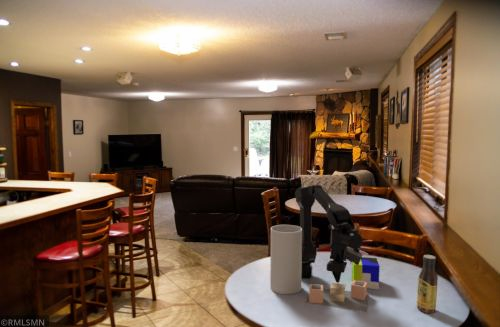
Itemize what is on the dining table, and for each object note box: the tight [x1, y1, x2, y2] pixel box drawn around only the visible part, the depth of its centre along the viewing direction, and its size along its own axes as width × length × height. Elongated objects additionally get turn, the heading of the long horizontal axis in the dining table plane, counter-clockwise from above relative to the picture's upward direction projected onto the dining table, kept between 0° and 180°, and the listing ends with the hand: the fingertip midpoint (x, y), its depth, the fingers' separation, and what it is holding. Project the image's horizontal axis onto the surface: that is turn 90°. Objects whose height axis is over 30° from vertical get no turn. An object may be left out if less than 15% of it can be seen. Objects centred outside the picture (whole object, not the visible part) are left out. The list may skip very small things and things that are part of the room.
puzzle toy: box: [351, 256, 381, 290], centre depth 159 cm, size 10×10×10 cm
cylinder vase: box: [269, 224, 302, 295], centre depth 153 cm, size 12×12×25 cm
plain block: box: [329, 282, 346, 302], centre depth 144 cm, size 5×5×5 cm
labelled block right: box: [350, 280, 368, 300], centre depth 146 cm, size 5×5×5 cm
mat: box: [304, 287, 370, 313], centre depth 145 cm, size 22×16×1 cm
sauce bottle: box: [416, 254, 439, 314], centre depth 135 cm, size 6×6×20 cm
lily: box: [348, 247, 369, 265], centre depth 187 cm, size 12×12×10 cm
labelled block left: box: [308, 283, 324, 304], centre depth 143 cm, size 5×5×5 cm
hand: (337, 282), depth 144 cm, fingers closed
